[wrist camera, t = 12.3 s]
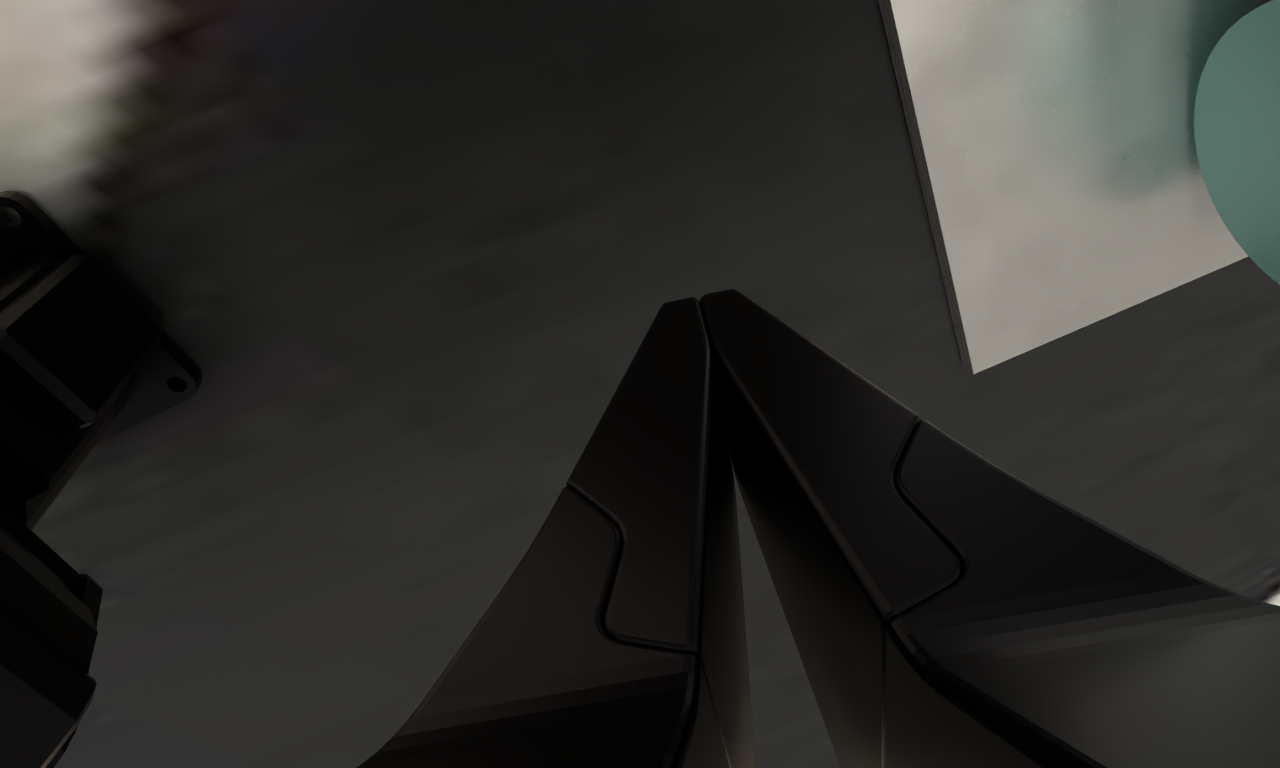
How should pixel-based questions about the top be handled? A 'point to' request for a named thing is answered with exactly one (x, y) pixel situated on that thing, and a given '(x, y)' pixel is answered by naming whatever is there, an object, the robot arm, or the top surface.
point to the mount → (1058, 157)
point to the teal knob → (1244, 133)
